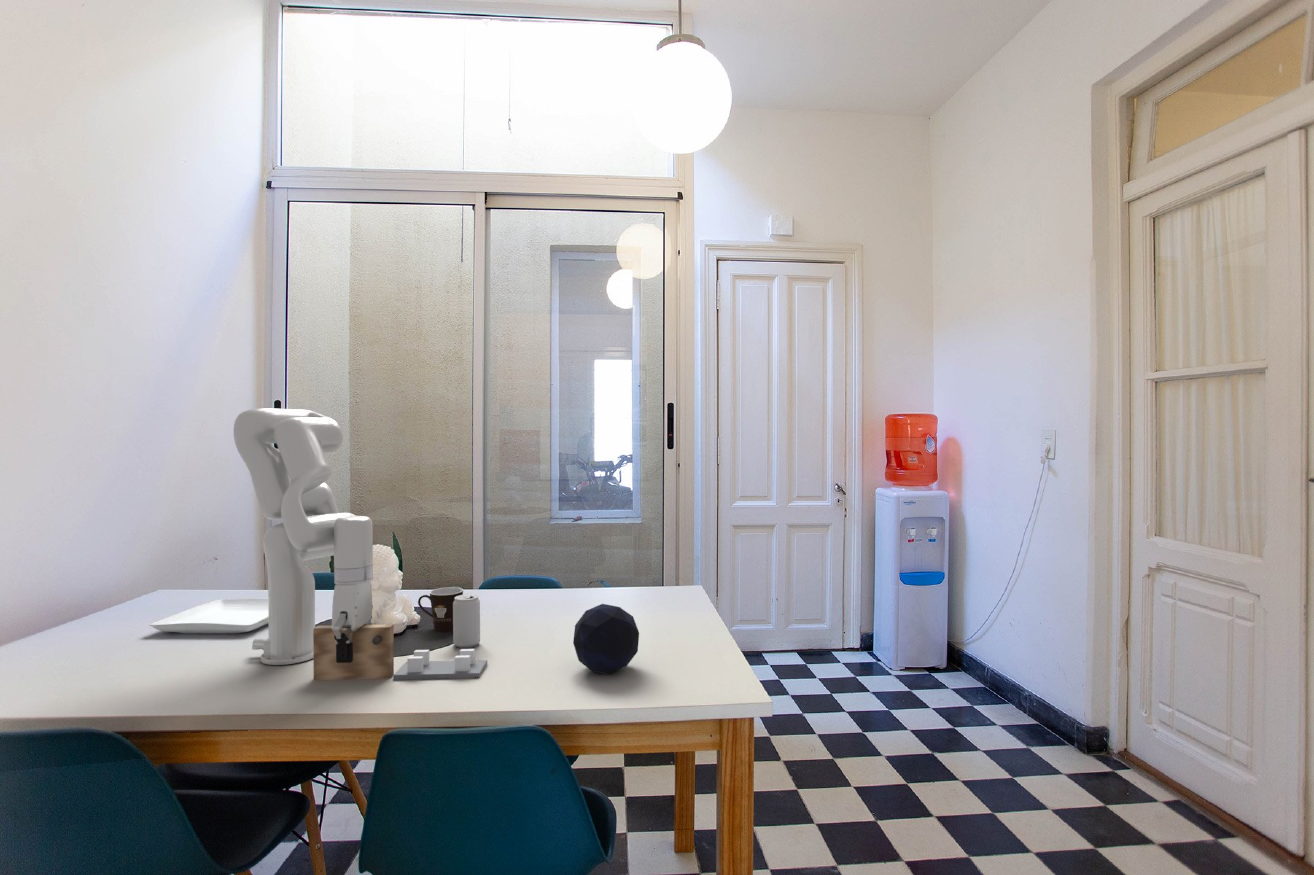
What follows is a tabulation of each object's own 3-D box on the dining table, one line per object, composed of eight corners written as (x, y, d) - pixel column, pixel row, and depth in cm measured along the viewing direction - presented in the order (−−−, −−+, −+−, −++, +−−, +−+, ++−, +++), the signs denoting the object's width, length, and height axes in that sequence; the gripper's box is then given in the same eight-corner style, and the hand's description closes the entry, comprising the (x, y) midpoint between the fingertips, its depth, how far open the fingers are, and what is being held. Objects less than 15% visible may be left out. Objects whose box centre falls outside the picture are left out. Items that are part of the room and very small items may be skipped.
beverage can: (472, 649, 154) (472, 600, 154) (448, 648, 155) (448, 599, 155) (484, 641, 160) (484, 593, 160) (461, 640, 161) (461, 592, 161)
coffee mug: (470, 626, 172) (470, 589, 172) (444, 635, 165) (444, 596, 165) (441, 620, 179) (441, 584, 179) (415, 628, 171) (415, 590, 171)
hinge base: (393, 679, 135) (393, 660, 135) (406, 666, 143) (406, 648, 143) (479, 677, 136) (479, 659, 136) (487, 664, 144) (487, 646, 144)
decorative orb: (561, 636, 147) (571, 594, 138) (622, 628, 153) (635, 587, 144) (574, 692, 136) (587, 649, 128) (639, 681, 142) (655, 640, 134)
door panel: (310, 682, 134) (310, 630, 134) (318, 676, 137) (317, 625, 137) (388, 680, 135) (388, 628, 135) (393, 675, 138) (393, 624, 138)
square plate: (251, 638, 164) (251, 623, 164) (146, 638, 164) (146, 623, 164) (309, 609, 191) (309, 597, 191) (219, 609, 192) (219, 596, 192)
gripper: (353, 566, 145) (353, 642, 145) (316, 583, 128) (317, 669, 128) (386, 565, 145) (387, 641, 145) (354, 583, 128) (355, 668, 128)
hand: (354, 654), depth 136 cm, fingers open, 9 cm apart
